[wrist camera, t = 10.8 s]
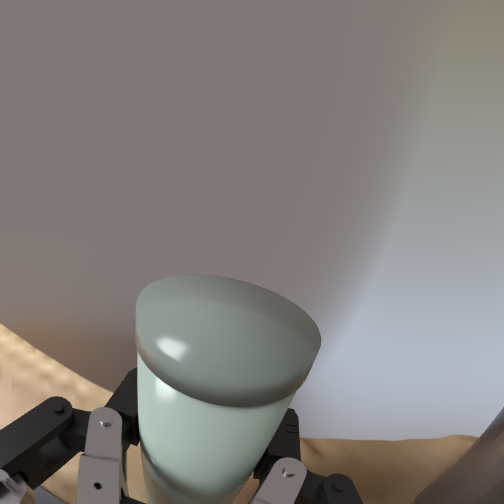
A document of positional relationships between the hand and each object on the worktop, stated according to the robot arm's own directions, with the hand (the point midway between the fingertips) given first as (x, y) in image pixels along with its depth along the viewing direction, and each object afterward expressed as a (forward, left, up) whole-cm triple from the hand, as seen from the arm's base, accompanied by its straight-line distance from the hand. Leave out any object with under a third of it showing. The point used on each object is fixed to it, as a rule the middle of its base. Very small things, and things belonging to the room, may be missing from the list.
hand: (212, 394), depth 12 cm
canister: (0, +3, -9) cm, 9 cm away
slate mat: (+6, +12, -15) cm, 20 cm away
